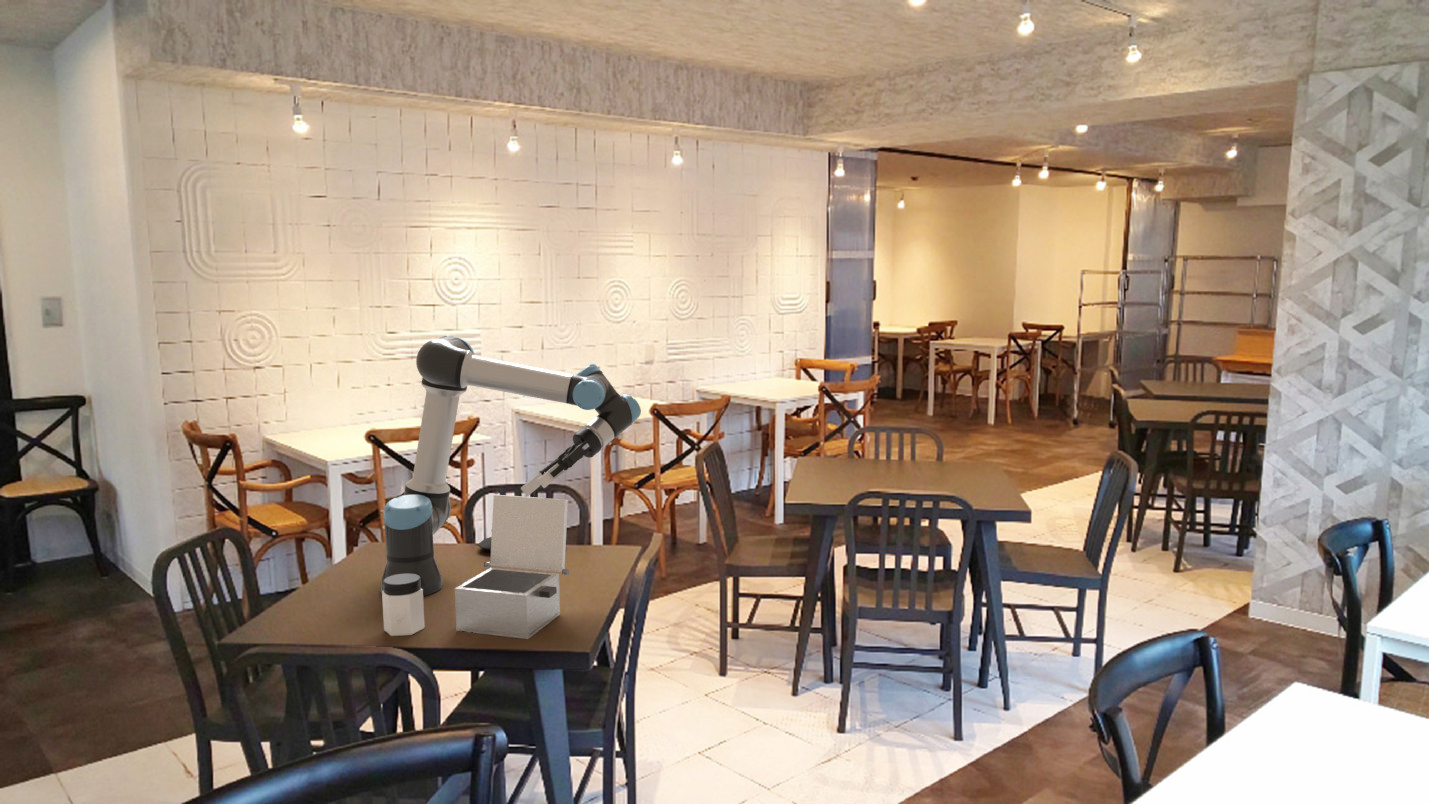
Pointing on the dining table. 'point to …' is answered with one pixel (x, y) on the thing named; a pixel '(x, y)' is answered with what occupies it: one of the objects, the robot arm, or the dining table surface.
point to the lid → (529, 532)
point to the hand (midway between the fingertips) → (532, 488)
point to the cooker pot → (507, 602)
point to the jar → (403, 604)
